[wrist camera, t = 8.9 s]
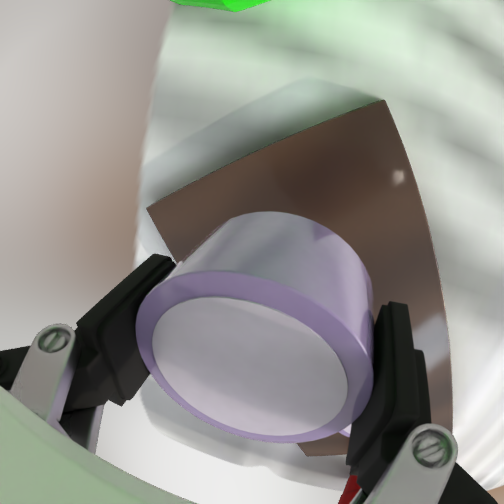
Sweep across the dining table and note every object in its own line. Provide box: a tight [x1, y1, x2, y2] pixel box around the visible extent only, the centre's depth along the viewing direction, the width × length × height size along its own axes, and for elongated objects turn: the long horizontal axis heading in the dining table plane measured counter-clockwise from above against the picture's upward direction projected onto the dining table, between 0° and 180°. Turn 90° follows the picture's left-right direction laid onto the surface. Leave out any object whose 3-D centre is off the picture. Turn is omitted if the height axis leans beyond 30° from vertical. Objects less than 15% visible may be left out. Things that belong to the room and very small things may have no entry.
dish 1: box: [135, 211, 375, 443], centre depth 9 cm, size 6×6×4 cm
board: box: [146, 100, 453, 456], centre depth 21 cm, size 30×16×1 cm, turn 27°
